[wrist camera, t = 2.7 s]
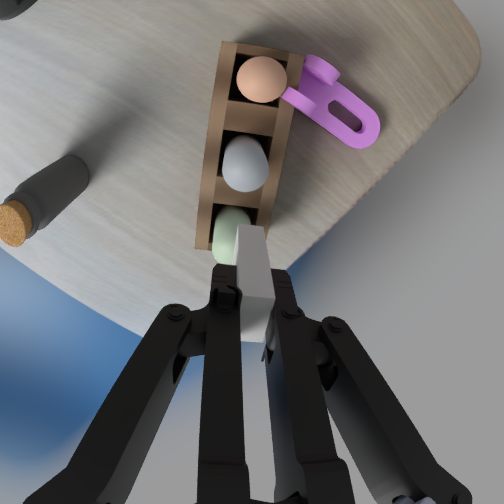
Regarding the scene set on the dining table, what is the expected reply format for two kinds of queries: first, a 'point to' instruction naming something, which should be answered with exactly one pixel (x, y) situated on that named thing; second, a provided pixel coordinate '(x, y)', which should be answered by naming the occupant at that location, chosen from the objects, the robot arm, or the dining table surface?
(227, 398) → the robot arm
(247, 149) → the grey rounded cylinder
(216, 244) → the green rounded cylinder
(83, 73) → the dining table surface
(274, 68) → the brown egg
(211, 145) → the walnut rack
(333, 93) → the bracket
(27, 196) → the bottle
